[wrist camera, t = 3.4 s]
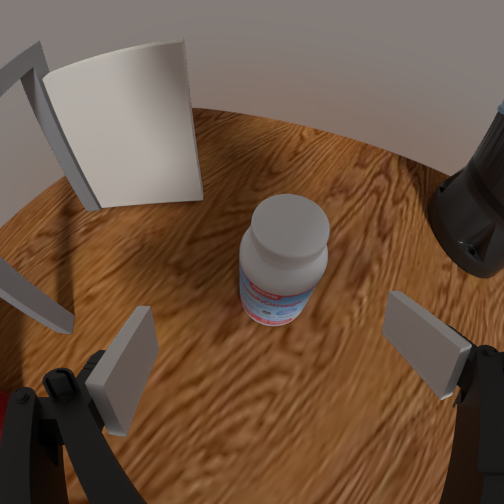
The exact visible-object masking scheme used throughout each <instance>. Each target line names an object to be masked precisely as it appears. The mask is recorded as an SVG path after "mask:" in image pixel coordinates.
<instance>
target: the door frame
mask: <svg viewBox="0 0 504 504" xmlns="http://www.w3.org/2000/svg"><path fill="white" fill-rule="evenodd" d="M48 73H50V72H49V70H48V66H47V63H46V60H45V56H44V53H43V50H42V46H41V43H40V41H38V42H36V43H34V44H32V45H30V46H29V47H27V48H25V49H23V50H22V51H20V52H19V53H18V54H16V55H15V56H14V57H12V58H11V59H10V60H8V61H7V62H6V63H4V64H3V65H2V66H1V67H0V97H1V96H2V95H3V94H4V93H5V92H6V91H7V90H8V89H9V88H10V87H11V86H12V85H13V84H14V83H15V82H17V81H18V80H19V79H21V82H22V85H23V87H24V90H25V92H26V95H27V97H28V100H29V102H30V105H31V107H32V109H33V111H34V114H35V116H36V118H37V120H38V123H39V125H40V127H41V129H42V131H43V133H44V135H45V137H46V139H47V141H48V143H49V145H50V147H51V149H52V151H53V153H54V155H55V157H56V159H57V161H58V163H59V164H60V166H61V168H62V170H63V172H64V174H65V175H66V177H67V179H68V181H69V182H70V184H71V186H72V188H73V189H74V191H75V193H76V194H77V196H78V198H79V199H80V201H81V203H82V204H83V206H84V207H85V209H86V211H94V210H100V208H101V205H100V203H99V201H98V200H97V198H96V196H95V194H94V192H93V190H92V189H91V187H90V185H89V183H88V181H87V179H86V177H85V175H84V173H83V171H82V169H81V167H80V165H79V163H78V161H77V159H76V157H75V155H74V153H73V151H72V149H71V147H70V145H69V143H68V140H67V138H66V136H65V134H64V132H63V129H62V127H61V125H60V122H59V120H58V118H57V115H56V113H55V111H54V108H53V106H52V103H51V101H50V98H49V95H48V93H47V90H46V87H45V85H44V82H43V78H44V77H45V76H46V75H47V74H48ZM0 297H1V298H2V299H4V300H5V301H7V302H8V303H10V304H11V305H13V306H14V307H16V308H17V309H19V310H20V311H22V312H24V313H25V314H27V315H28V316H30V317H32V318H33V319H35V320H37V321H38V322H40V323H42V324H43V325H45V326H47V327H49V328H50V329H52V330H54V331H56V332H58V333H65V334H72V331H73V324H74V317H75V315H73V314H72V313H70V312H69V311H67V310H66V309H65V308H63V307H62V306H60V305H59V304H58V303H56V302H55V301H54V300H52V299H51V298H50V297H48V296H47V295H46V294H44V293H43V292H42V291H40V290H39V289H38V288H37V287H35V286H34V285H33V284H32V283H30V282H29V281H28V280H27V279H25V278H24V277H23V276H22V275H21V274H20V273H18V272H17V271H16V270H15V269H14V268H13V267H11V266H10V265H9V264H8V263H7V262H6V261H5V260H4V259H3V258H1V257H0Z"/></svg>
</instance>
